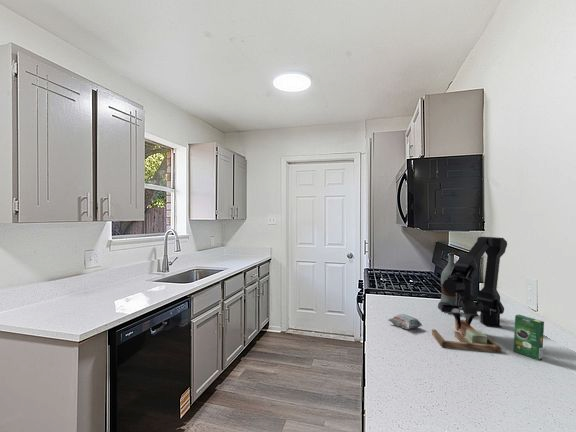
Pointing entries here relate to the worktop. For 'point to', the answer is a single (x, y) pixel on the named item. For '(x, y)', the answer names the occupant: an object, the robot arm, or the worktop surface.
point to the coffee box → (528, 336)
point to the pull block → (471, 333)
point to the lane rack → (466, 343)
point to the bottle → (444, 276)
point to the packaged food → (405, 321)
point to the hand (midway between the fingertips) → (463, 328)
